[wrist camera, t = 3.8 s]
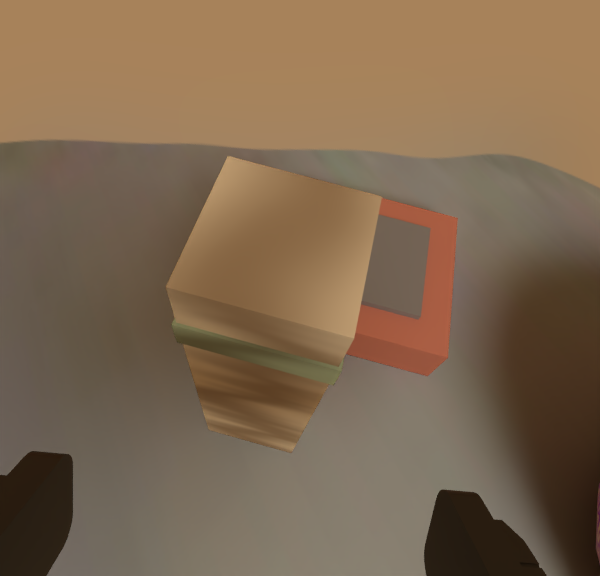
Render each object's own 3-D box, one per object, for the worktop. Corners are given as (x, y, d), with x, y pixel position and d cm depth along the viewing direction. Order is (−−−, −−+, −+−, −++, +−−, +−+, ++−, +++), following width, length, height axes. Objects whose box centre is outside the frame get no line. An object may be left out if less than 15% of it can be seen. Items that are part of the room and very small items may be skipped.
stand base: (264, 331, 26) (267, 305, 23) (303, 208, 31) (309, 174, 28) (427, 376, 26) (450, 355, 23) (439, 244, 31) (460, 214, 28)
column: (206, 431, 23) (159, 289, 10) (234, 350, 25) (225, 152, 12) (292, 455, 23) (357, 343, 10) (312, 372, 25) (386, 194, 12)
